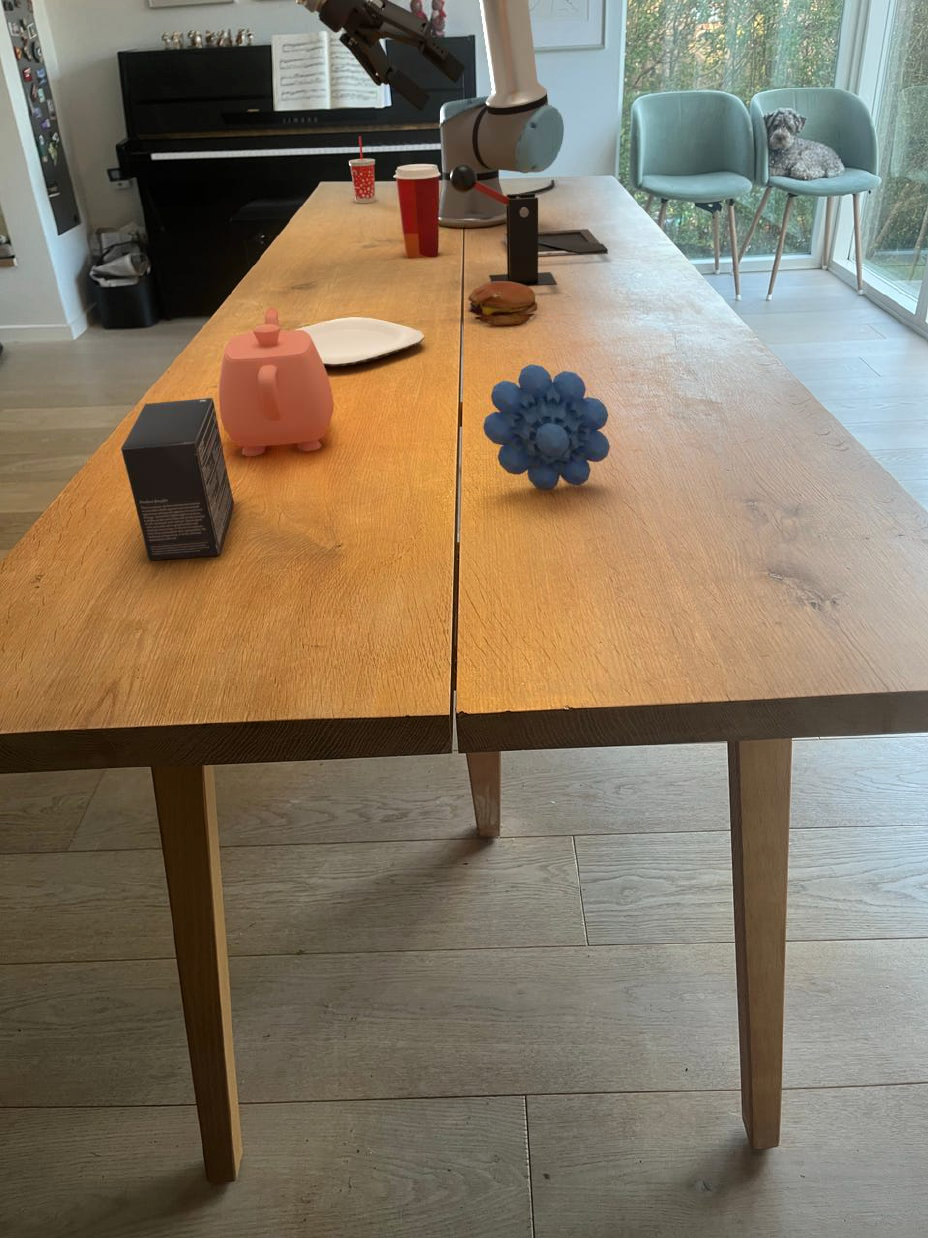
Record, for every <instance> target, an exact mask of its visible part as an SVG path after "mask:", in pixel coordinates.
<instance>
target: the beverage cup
mask: <svg viewBox="0 0 928 1238" xmlns="http://www.w3.org/2000/svg"><path fill="white" fill-rule="evenodd" d="M358 143H359V154H360V155H359V156H360V158H356V159H350V160H348V165H349V167H350V173H351V179H352V186H353V187H352V188H353V193H354V198H355V203H356V204H372V203H375V202H376V184H375V183H376V181H375V180H376V178H375V164H376V159H374V158H364V157H363V155H364V154H363V146H362V145H363V144H362V143H363V142H362V136H361V135H360V136H358Z"/></svg>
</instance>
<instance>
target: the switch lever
mask: <svg viewBox="0 0 928 1238" xmlns="http://www.w3.org/2000/svg"><path fill="white" fill-rule="evenodd" d="M450 181H451V184H452V186H453V188H454V189H455V190H456V191H458V192H460V193H467V192H469V191H471V190H472V189H473V188H474V189H476V190H478V191H480V192H482V193H484V194H486V195H488V196H490V197H492V198H494V199H496V200H497V201H499V202H501V203H503V204H505V205H507V206H509V199H510V198H508V197H506V195H504V193H503V194H501V193H499V192H497V191H495V190H493V189H491V188H489V187H487V186H485V185H483V184H481V183H480V182H478V181H477V175H476V172H475V170H474V169H473V168H472V167H471V166H469V165H467V164H460V165H458V166H456V167H455V168H454V169H453V171H452V173H451V176H450ZM516 198H520V197H518V196H517V197H516Z"/></svg>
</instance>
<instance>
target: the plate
mask: <svg viewBox="0 0 928 1238" xmlns="http://www.w3.org/2000/svg"><path fill="white" fill-rule="evenodd" d="M295 330H303V331H306V332H307V333H308V334H309V335H310V337H311V339H312V341H313V343H314V345H315V347H316V349H317V351H318V353H319V355H320V358H321V360H322V362H323V364H324V367H349V366H356V365H362V364H366V363H370V362H373V361H377V360H379V359H382V358H385V357H388V356H391V355H393V354H395V353H399V352H401V351H404V350H407V349H409V348H412V347H415V346H417V345H418V344H420V343H421V342H422V341H423V340H425V338H426V337H425V335H424V334H423V333H422V332H421V331H420V330H418V329H415V328H413V327H409V326H406V325H403V324H399V323H395V322H390V321H386V320H382V319H377V318H371V317H361V316H351V317H341V318H336V319H331V320H327V321H322V322H317V323H314V324H310V325H306V326H303V327H299V328H296V329H295Z"/></svg>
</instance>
